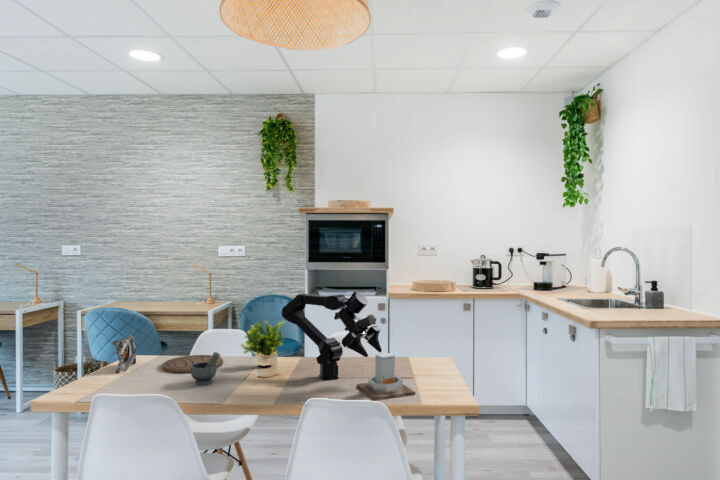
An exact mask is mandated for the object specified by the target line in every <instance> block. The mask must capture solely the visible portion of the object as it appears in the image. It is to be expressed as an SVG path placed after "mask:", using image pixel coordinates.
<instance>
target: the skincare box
mask: <svg viewBox="0 0 720 480" xmlns="http://www.w3.org/2000/svg"><path fill="white" fill-rule="evenodd" d="M395 361H396V355H395V354H392V353H390V352H388V353H380V354H376V355H375V366H374V367H375V369H374V370H375V372H374V373H375V375H374V376H375V382H376V383H383V384H390V383H394V376H396V375H395V372H396V371H395V370H396V369H395V367H396V366H395V365H396V364H395V363H396V362H395Z"/></svg>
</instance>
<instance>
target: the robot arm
mask: <svg viewBox="0 0 720 480" xmlns="http://www.w3.org/2000/svg"><path fill="white" fill-rule="evenodd" d="M368 304H369V300H368V298H367V297H366V296H364V295H363V294H362V293H359V291H354V292H353V293H352V294H351V295H350V297H346V296H345V294H333V295H316V294H307V293H299V294H297V295H295V297H294V298H293V299H292V300H290V301H289V302H288V303H286V305H285V306H283V308H281V317H282V318H283V319H284V320H285V321H287V322H288V323H290V324H293V325H296V326H297V327H298V328H299V329H300V330H301V331H302V332H303V333H304V334H305V335H306V336H307V337H308V338H309V339H310V340H311V341H312V342H313V343H314V344H315V345H316V346H317V347H318V352H319V355H318V356H317V357H316V363H317V364H319V374H318V377H319V378H321V380H322V381H331V380H336V379H337V380H338V379H339V365H338V362H339V361H340V359H341V357H342V356H343V352H344V351H343V347H344V348H346V349H349V350H352V351H353V352H356V353H358V354H359V355H361V356H362V357H365V358H368V357H369V354H368V352H367V350H366V348H365V346H363V344H362V342H361V341H362V340H361V339H363V338H364V340H366V342H367V344H368V345H370V346H371V347H373V349H375V350H376V351H377V352H378V353H382V352H383V349H382V346H381V343H380V340H379V335H380V332H381V329H380V327H379V326H377V325H376V322H377V317H376V316H375V315H374V314H369V315H367V317H364V318H361V317H358V316H357V315H356V314H358V315H359V314H360V313H361V312H362V311H363V310H364V308H366V306H367V305H368ZM307 305H312V306H321V307H324V308H325V309H328V310H330V311H336V312H334V317H333V318H334V321H335V320H340V321H341V322H342V324H344V327H345V328H344V331H346V332H347V331H348V333H346V335H345V336H344V337H343V338H342V339H341V342H339V341H338V340H337V339H336V338H335V337H330V338H329V337H326V336H325V335H324V334H323V332H321V331H320V330H319V328H318V327H317V326H315V325H314V324H313V323H312V322H311V321H310V320H309V319H308V318H307V317H306V316H305V311H304V310H305V308H306V306H307ZM338 310H339V311H338ZM337 311H338V312H337ZM373 325H374V326H373ZM369 326H370V327H369ZM341 344H342V345H341ZM342 346H343V347H342Z"/></svg>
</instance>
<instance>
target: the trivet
mask: <svg viewBox="0 0 720 480" xmlns="http://www.w3.org/2000/svg"><path fill="white" fill-rule="evenodd" d="M212 356H213V354H194V355H193V354H192V355H184V356H179V357H173V358H171V359H167V360H165V361H164V362H163V363H162V371H164V372H166V373H171V374H191V371H190V367H191V365H193V364H196V363H202V362H209V361H210V359H211V358H212ZM216 364H217V369H218V368H220V367H222V366H223V364H224V359H223V357H221V356H220V357H219V358H218V360H217V362H216Z"/></svg>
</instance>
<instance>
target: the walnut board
mask: <svg viewBox="0 0 720 480" xmlns="http://www.w3.org/2000/svg"><path fill="white" fill-rule="evenodd" d="M356 388H358V389H359V390H360V391H361V392H363V393H364V394H366V395H367V396H369V397H370V398H371V399H373V400H374V401H380V400H387V399H393V398H400V397H401V398H402V397H407V396H412V395H413V396H414V395H416V391H415V390H413V389H412V388H410V387H409V386H406V385H405V384H403V386H402V389H401V390H400V391H399V392H393V393H380V392H373V391H372V390H371V389H369V388H368V382H363V383H356Z"/></svg>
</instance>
